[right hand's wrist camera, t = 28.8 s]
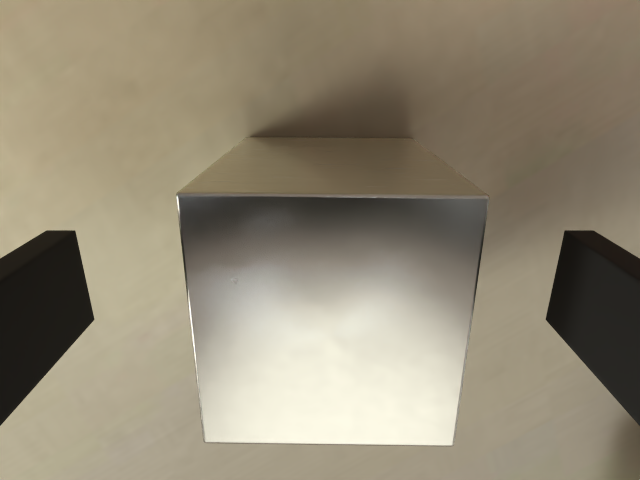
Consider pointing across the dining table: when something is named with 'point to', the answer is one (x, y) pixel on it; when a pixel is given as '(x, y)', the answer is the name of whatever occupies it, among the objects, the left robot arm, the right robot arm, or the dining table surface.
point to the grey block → (331, 291)
